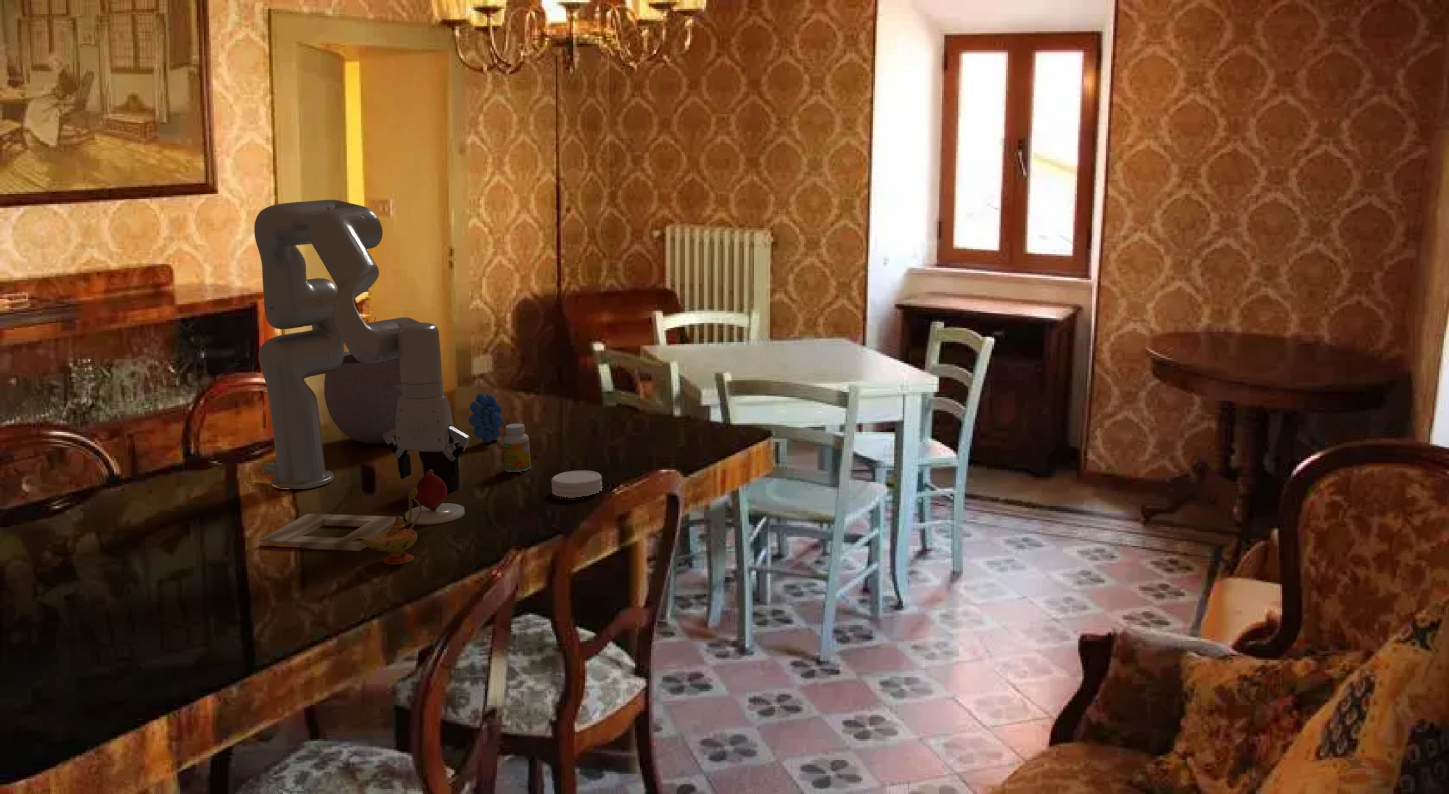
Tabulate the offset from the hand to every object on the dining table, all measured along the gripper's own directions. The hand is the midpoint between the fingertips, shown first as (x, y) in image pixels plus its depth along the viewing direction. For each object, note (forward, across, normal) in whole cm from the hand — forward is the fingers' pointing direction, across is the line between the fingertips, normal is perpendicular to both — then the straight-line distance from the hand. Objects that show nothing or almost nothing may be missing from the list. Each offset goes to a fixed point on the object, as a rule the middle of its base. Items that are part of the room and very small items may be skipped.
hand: (429, 477), depth 249 cm
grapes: (+9, -12, +55) cm, 57 cm away
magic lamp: (+7, +6, -26) cm, 28 cm away
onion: (+6, 0, 0) cm, 7 cm away
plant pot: (+9, -40, +55) cm, 68 cm away
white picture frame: (+7, -13, -13) cm, 20 cm away
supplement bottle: (+8, +4, +33) cm, 34 cm away
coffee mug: (+8, -6, +19) cm, 21 cm away
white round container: (+7, +23, +18) cm, 30 cm away
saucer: (+7, +1, 0) cm, 7 cm away
